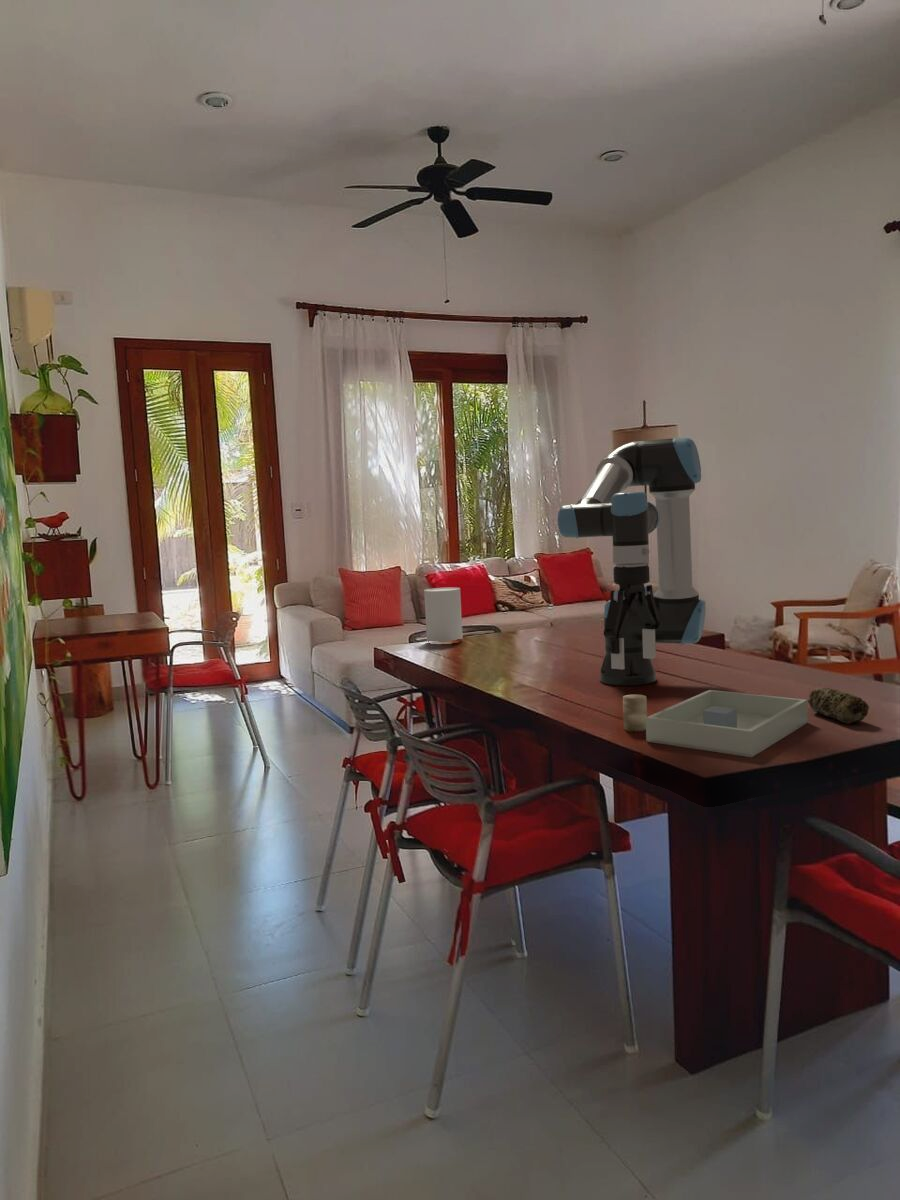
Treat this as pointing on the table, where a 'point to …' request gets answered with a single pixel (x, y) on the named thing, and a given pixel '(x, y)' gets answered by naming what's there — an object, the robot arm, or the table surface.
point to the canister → (443, 614)
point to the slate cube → (720, 716)
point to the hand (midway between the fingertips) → (634, 663)
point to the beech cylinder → (634, 712)
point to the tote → (755, 727)
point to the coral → (838, 705)
